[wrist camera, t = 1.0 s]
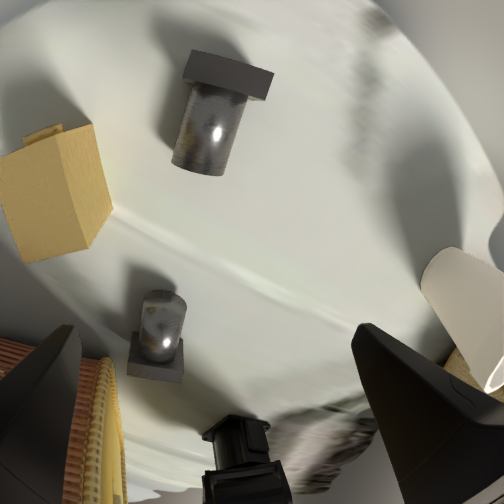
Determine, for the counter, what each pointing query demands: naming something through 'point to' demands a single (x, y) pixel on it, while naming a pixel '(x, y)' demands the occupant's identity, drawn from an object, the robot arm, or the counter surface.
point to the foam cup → (470, 310)
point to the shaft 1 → (159, 339)
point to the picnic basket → (88, 431)
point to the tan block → (54, 192)
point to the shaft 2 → (215, 110)
